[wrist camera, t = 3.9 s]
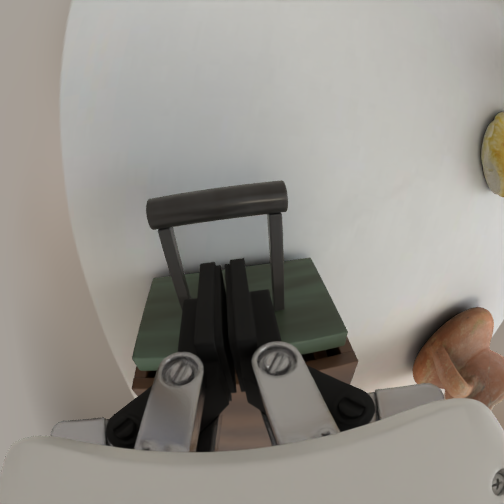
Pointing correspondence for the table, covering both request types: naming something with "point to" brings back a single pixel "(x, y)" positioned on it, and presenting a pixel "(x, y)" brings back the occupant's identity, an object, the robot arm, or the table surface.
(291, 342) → the drawer
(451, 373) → the ceramic jug
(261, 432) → the cabinet
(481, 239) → the table surface
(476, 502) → the robot arm
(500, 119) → the bread roll
